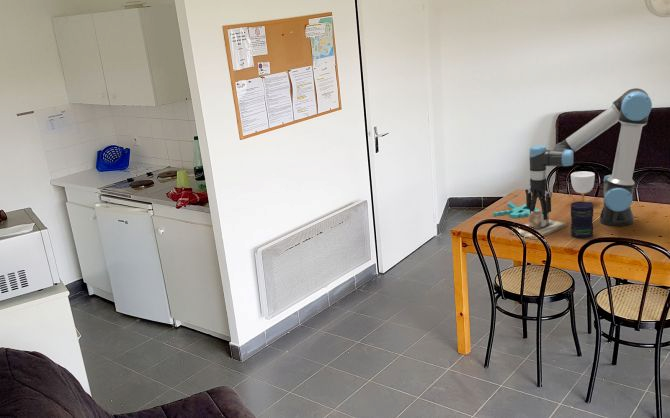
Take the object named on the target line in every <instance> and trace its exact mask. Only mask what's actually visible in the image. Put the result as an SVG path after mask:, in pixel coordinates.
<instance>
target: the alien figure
mask: <svg viewBox="0 0 670 418" xmlns="http://www.w3.org/2000/svg"><path fill="white" fill-rule="evenodd" d="M506 206H507V207H508V208H509V209H511V210H509V209H506V210H500V211H494V212H493V213H492V214H493V217H497V216H498V217H499V216H505V215H506V216H508V215H509V219H510V218H511V219H517V218H518V219H520V218H521V217H522V219H523V218H527V217H528V218H529V215H528V214H530V210H529V209H527V208H526V203H523V204H522V205H520V206H518V205H516V204H515V203H514V202H507V204H506ZM535 210H536V211H538V210H541V208H538V207H536V206H535Z"/></svg>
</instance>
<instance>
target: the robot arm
mask: <svg viewBox="0 0 670 418" xmlns="http://www.w3.org/2000/svg"><path fill="white" fill-rule="evenodd" d="M652 103H653V102H652V99H651V98H650V96H649V94H648V93H647V92H646V91H645V90H643V89H642V88H639V87H638V88H631V89H628V90H627V91H625V92H624V93H623V94H622V95H621V96H619V97H618V98H617V99H616V100H614V101H613V102H612V104H611V106H609V107H608V108H607V109H606V110H604V111H603V112H601V113H600V114H599V115H597V116H596V117H595V118H593V119H591V120H590V121H588V123H586V124H584V125H583V126H582V127H581V128H579V129H578V130H576V131H575V132H573V133H572V134H570V135H569V136H568V137H566V138H565V139H564V140H562V141H561V142H558V143H556V144H555V145H554V147H553V149H550V150H549V149H547V146H545V145H539V144H538V145H537V144H536V145H533V146H530V148H529V186H530V187H529V188H527V189H525V190H524V192H525V194H526V195H525V197H526V199H525V200H526V203H525V204H526V208H527V209H529V210H530V213H533V212H535V211H536V210H535V207H536V204H537V200H538V201H539V203H540V207H541V210H542V212H543V213H541V226H542V227H543V226H546V220H547V213H549V214H550V213H551V212H552V195H553V193H552V192H551V191H550V192H549V191H548V190H547V184H548V183H547V167H569V166H570V167H571V166H573V165H574V153H576V152H577V151H578V150H580V149H581V148H582V147H584V146H585V145H587V144H588V143H590V142H591V141H593V140H594V139H595V138H597V137H598V136H600V135H601V134H602V133H604V132H605V131H607V130H609V129H610V128H611V127H612V126H614V125H616V124H617V123H618V122H619V123H620V124H621V125H620V131H619V135H618V141H617V146H616V152H615V155H614V156H615V157H614V162H613V167H612V173H611V174H608V175H605V176H604V177H603V180H602V181H603V207H602V209H601V213H600V214H599V222H600V223H601V224H604V225H606V226H612V227H622V226H629V225H631V224H633V223H634V218H635V217H634V214H633V212H632V209H631V205H632V204H633V200H634V199H633V198H634V197H633V193H634V189H635V184H636V182H635V180H634V179H633V175H634V171H635V166H636V165H635V164H636V162H637V161H636V160H637V156H638V150H639V145H640V141H641V135H642V132H643V131H642V130H643V127H644V126H646V125H648V120H649V115H650V113H651V111H652V108H653V107H652V106H653V104H652Z"/></svg>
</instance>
